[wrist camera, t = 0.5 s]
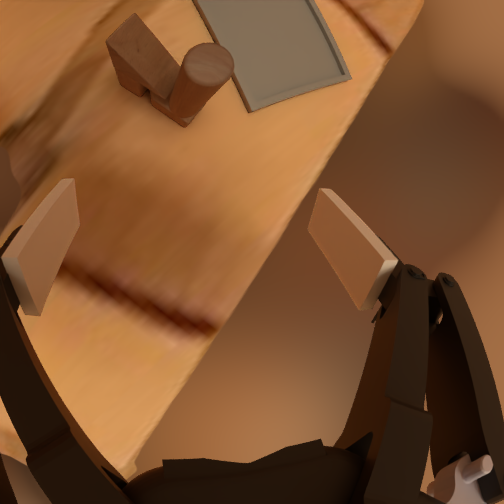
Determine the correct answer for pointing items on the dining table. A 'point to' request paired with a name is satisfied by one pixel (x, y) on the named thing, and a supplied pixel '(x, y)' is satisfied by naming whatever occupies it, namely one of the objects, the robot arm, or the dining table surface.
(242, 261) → the dining table surface
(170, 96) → the wooden block
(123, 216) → the dining table surface
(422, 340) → the robot arm
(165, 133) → the dining table surface
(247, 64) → the slate tray
